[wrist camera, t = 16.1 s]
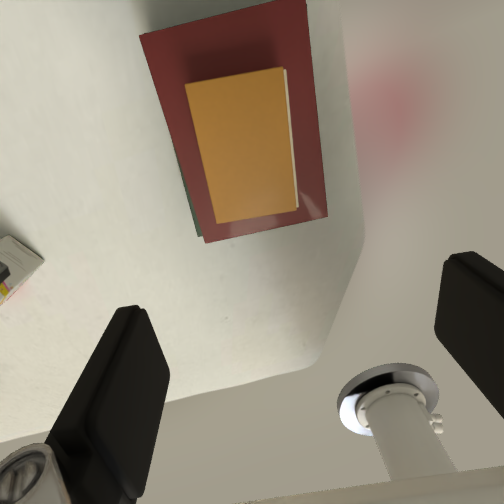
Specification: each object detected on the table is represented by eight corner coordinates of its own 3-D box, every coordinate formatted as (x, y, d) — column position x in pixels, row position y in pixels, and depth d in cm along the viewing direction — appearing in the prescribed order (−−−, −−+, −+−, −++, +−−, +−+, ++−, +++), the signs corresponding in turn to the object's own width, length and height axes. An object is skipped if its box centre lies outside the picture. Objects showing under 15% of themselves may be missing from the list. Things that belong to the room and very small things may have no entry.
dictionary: (191, 84, 24) (184, 83, 20) (278, 68, 24) (286, 65, 20) (218, 207, 28) (216, 224, 25) (291, 194, 28) (299, 210, 25)
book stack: (313, 205, 36) (328, 227, 30) (200, 224, 36) (194, 250, 30) (299, 10, 27) (317, -10, 21) (152, 37, 27) (131, 25, 22)
